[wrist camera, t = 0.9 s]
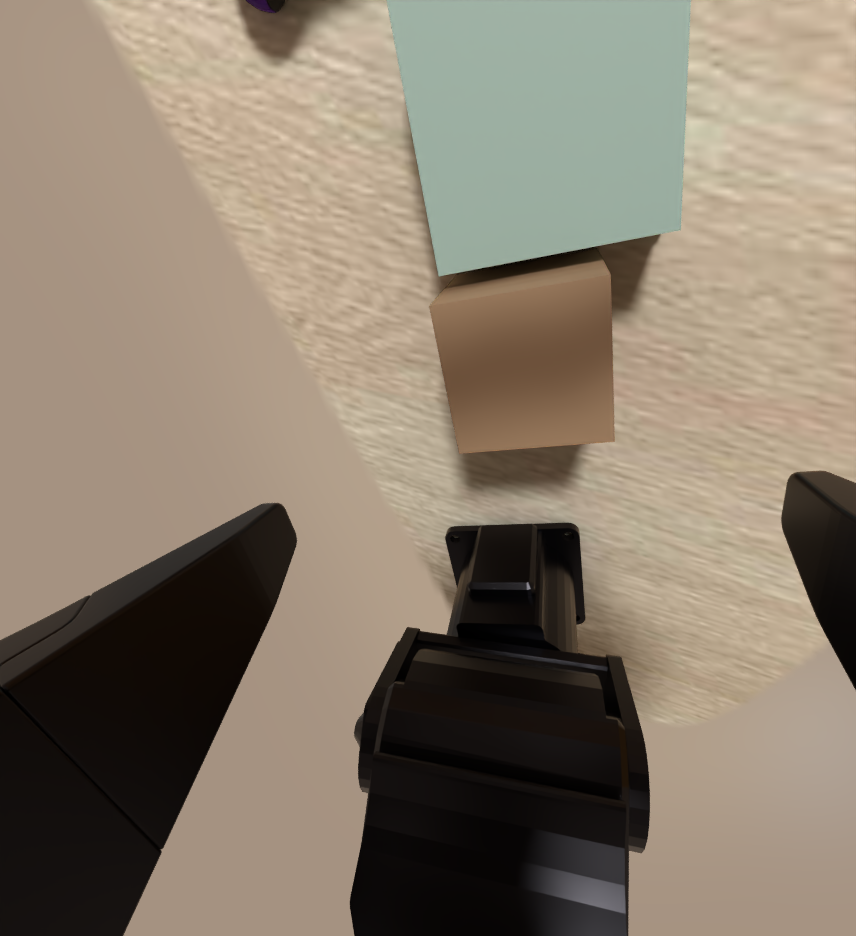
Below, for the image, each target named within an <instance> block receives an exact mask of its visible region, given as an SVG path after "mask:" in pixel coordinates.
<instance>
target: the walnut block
mask: <svg viewBox="0 0 856 936" xmlns="http://www.w3.org/2000/svg"><path fill="white" fill-rule="evenodd" d="M429 308H430V313H431V317H432V322H433V327H434V332H435V337H436V342H437V347H438V352H439V357H440V362H441V366H442V371H443V376H444V381H445V386H446V391H447V396H448V401H449V406H450V411H451V415H452V420H453V425H454V430H455V435H456V440H457V445H458V450H459V454H461V453H474V452H487V451H500V450H513V449H525V448H538V447H551V446H564V445H577V444H590V443H603V442H615V437H614V393H613V349H612V305H611V274H610V272H609V270H608V268H607V266H606V264H605V262H604V261H603V259H602V257H601V255H600V253H599V251H598V249H597V248H595V249H589V250H584V251H579V252H574V253H568V254H563V255H558V256H553V257H547V258H542V259H537V260H532V261H526V262H521V263H516V264H511V265H505V266H500V267H495V268H490V269H485V270H479V271H474V272H469V273H464V274H458V275H457V276H456V277H455V278H454V279H453V280H452V281H451V282H450V283H449V284H448V286H447V287H446V288H445V289H444V290H443V291H442V292H441V293H440V295H439V296H438V297H437V298H436V299H435V300H434V301H433V302H432V304H431V305H430V306H429Z"/></svg>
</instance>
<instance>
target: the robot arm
mask: <svg viewBox="0 0 856 936" xmlns="http://www.w3.org/2000/svg"><path fill="white" fill-rule="evenodd" d="M781 523H782V529H783V532H784V535H785V538H786V540H787V543H788V545H789V548H790V551H791V553H792V556H793V558H794V561H795V564H796V566H797V569H798V571H799V574H800V577H801V579H802V582H803V584H804V587H805V590H806V592H807V595H808V597H809V600H810V603H811V605H812V607H813V610H814V612H815V614H816V617H817V619H818V621H819V623H820V625H821V627H822V629H823V631H824V633H825V634H826V636H827V638H828V640H829V642H830V644H831V645H832V647H833V649H834V651H835V653H836V655H837V657H838V658H839V660H840V662H841V664H842V666H843V668H844V669H845V671H846V673H847V675H848V677H849V679H850V681H851V682H852V684H853V686H854V688H855V689H856V483H854V482H852V481H849V480H847V479H844V478H842V477H839V476H837V475H834V474H832V473H829V472H826V471H806V472H795V473H793V474H792V475H790V477H789V479H788V482H787V487H786V493H785V498H784V504H783V510H782V517H781ZM566 532H570V533H572V535H565V534H564V533H566ZM453 535H456V536H458V537H459V538H455V537H453ZM445 540H446V544H447V548H448V552H449V556H450V560H451V564H452V568H453V572H454V576H455V580H456V585H457V592H456V596H455V601H454V605H453V610H452V614H451V618H450V623H449V627H448V632H447V635H444V634H437V633H429V632H422V631H420V629H417V628H410V627H407V628H406V630H405V632H404V634H403V636H402V638H401V640H400V642H398V643H397V644H396V646H395V648H394V651H393V652H392V654H391V656H390V658H389V660H388V662H387V664H386V666H385V668H384V670H383V672H382V673H381V675H380V677H379V679H378V681H377V683H376V685H375V687H374V689H373V691H372V693H371V695H370V697H369V698H368V700H367V703H366V705H365V708H364V713H363V714H362V715H361V716H360V717H359V719H358V720H357V722H356V726H355V731H354V736H355V739H356V741H357V743H358V744H359V747H360V751H359V764H358V779H359V785H360V788H361V790H362V792H366V793H368V799H367V807H366V814H365V822H364V829H363V836H362V843H361V848H360V853H359V858H358V863H357V868H356V872H355V877H354V882H353V887H352V892H351V897H350V910H351V916H352V923H353V929H354V935H355V936H628V887H629V883H628V882H629V851H634V852H638V853H642V852H643V851H644V849H645V846H646V842H647V837H648V829H649V816H650V789H649V772H648V762H647V754H646V748H645V742H644V738H643V733H642V730H641V726H640V722H639V719H638V715H637V711H636V708H635V704H634V701H633V697H632V694H631V690H630V687H629V683H628V679H627V676H626V672H625V669H624V665H623V662H622V658H621V657H619V656H612V655H606V657H601V656H594V655H587V654H580V653H578V649H577V628H576V625H577V624H581V623H583V622H584V621H585V608H584V594H583V579H582V565H581V551H580V536H579V529H578V527H577V526H576V525H574V524H572V523H545V524H511V525H483V526H454V527H450V528H449V529H448V530H447V533H446V536H445ZM296 543H297V538H296V533H295V530H294V528H293V526H292V523H291V521H290V519H289V516H288V514H287V512H286V509H285V508H284V506H283V505H282V504H279V503H266V504H261V505H259V506H257V507H255V508H253V509H251V510H249V511H247V512H245V513H244V514H242V515H240V516H238V517H236V518H234V519H232V520H230V521H228V522H226V523H225V524H223V525H221V526H219V527H217V528H215V529H213V530H212V531H210V532H207V533H206V534H204V535H202V536H200V537H198V538H196V539H194V540H192V541H191V542H189V543H187V544H185V545H183V546H181V547H179V548H177V549H176V550H173V551H171V552H170V553H168V554H166V555H164V556H162V557H160V558H158V559H156V560H155V561H153V562H151V563H149V564H147V565H145V566H144V567H141V568H139V569H137V570H135V571H134V572H132V573H130V574H128V575H126V576H124V577H122V578H121V579H118V580H117V581H115V582H113V583H111V584H109V585H107V586H105V587H104V588H101V589H100V590H98V591H96V592H94V593H93V594H92V595H91V596H86V597H84V598H83V599H80V600H78V601H77V602H75V603H73V604H71V605H69V606H67V607H65V608H63V609H62V610H59V611H57V612H55V613H54V614H52V615H50V616H48V617H46V618H44V619H42V620H40V621H38V622H36V623H34V624H32V625H30V626H28V627H26V628H24V629H22V630H20V631H18V632H16V633H14V634H12V635H10V636H8V637H6V638H4V639H2V640H0V936H123V935H124V933H125V931H126V928H127V926H128V924H129V922H130V920H131V918H132V915H133V913H134V911H135V909H136V907H137V905H138V903H139V900H140V898H141V896H142V894H143V892H144V889H145V887H146V885H147V883H148V881H149V879H150V876H151V874H152V872H153V870H154V868H155V866H156V864H157V861H158V859H159V857H160V855H161V849H163V847H164V845H165V843H166V841H167V839H168V837H169V834H170V833H171V830H172V828H173V826H174V824H175V822H176V819H177V817H178V815H179V813H180V811H181V809H182V807H183V805H184V802H185V800H186V798H187V796H188V794H189V792H190V789H191V787H192V785H193V783H194V781H195V779H196V777H197V774H198V772H199V770H200V768H201V765H202V764H203V761H204V759H205V757H206V755H207V753H208V751H209V748H210V746H211V744H212V742H213V740H214V738H215V736H216V733H217V731H218V729H219V727H220V725H221V723H222V720H223V718H224V716H225V714H226V712H227V710H228V707H229V705H230V703H231V701H232V699H233V697H234V695H235V692H236V690H237V688H238V686H239V684H240V682H241V679H242V677H243V675H244V673H245V671H246V669H247V667H248V664H249V662H250V660H251V658H252V656H253V654H254V651H255V649H256V647H257V645H258V643H259V641H260V638H261V636H262V634H263V632H264V630H265V627H266V626H267V623H268V621H269V619H270V617H271V614H272V612H273V610H274V607H275V605H276V602H277V599H278V597H279V594H280V591H281V588H282V585H283V582H284V579H285V577H286V574H287V571H288V568H289V565H290V562H291V559H292V556H293V554H294V550H295V548H296Z"/></svg>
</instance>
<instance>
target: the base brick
mask: <svg viewBox="0 0 856 936" xmlns="http://www.w3.org/2000/svg"><path fill="white" fill-rule="evenodd" d="M387 5H388V10H389V16H390V21H391V26H392V32H393V37H394V42H395V48H396V53H397V58H398V63H399V69H400V74H401V79H402V85H403V90H404V95H405V101H406V106H407V111H408V116H409V122H410V127H411V132H412V138H413V143H414V148H415V154H416V159H417V164H418V169H419V175H420V180H421V185H422V191H423V196H424V201H425V207H426V212H427V217H428V222H429V228H430V233H431V238H432V244H433V249H434V254H435V260H436V265H437V270H438V275H439V276H443V275H449V274H454V273H459V272H464V271H469V270H475V269H480V268H485V267H490V266H496V265H501V264H506V263H511V262H517V261H522V260H527V259H532V258H537V257H543V256H548V255H553V254H558V253H564V252H569V251H574V250H579V249H585V248H590V247H595V246H600V245H605V244H611V243H616V242H621V241H626V240H632V239H637V238H642V237H647V236H653V235H658V234H663V233H668V232H673V231H679V230H681V212H682V190H683V167H684V144H685V121H686V98H687V75H688V53H689V30H690V7H691V0H387Z"/></svg>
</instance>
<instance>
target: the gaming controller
mask: <svg viewBox="0 0 856 936" xmlns="http://www.w3.org/2000/svg"><path fill="white" fill-rule="evenodd" d="M246 1H247V2H248V3H249V4H251V5H253V6H254V7H255V8H257V9H259V10H261V11H265V12H271V13H276V12H277V11H279V10H280V9H281V7H282V6H283V4H284V2H285V0H246Z"/></svg>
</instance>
